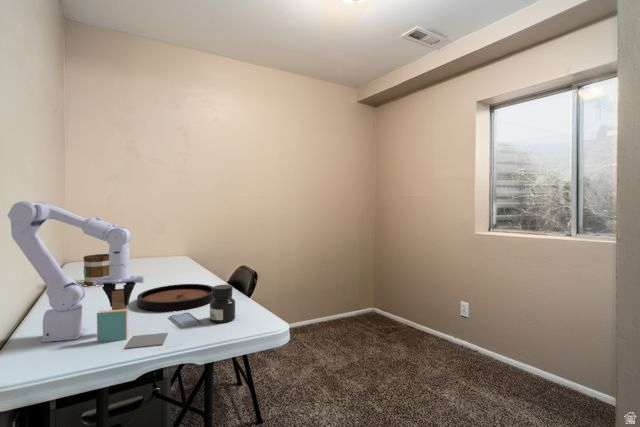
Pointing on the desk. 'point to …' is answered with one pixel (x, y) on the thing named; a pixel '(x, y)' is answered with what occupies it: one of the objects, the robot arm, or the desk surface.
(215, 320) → the ink bottle
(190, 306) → the wall clock
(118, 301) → the block
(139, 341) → the mat
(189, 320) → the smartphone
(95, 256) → the mug
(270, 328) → the desk surface
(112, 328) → the clay tile
